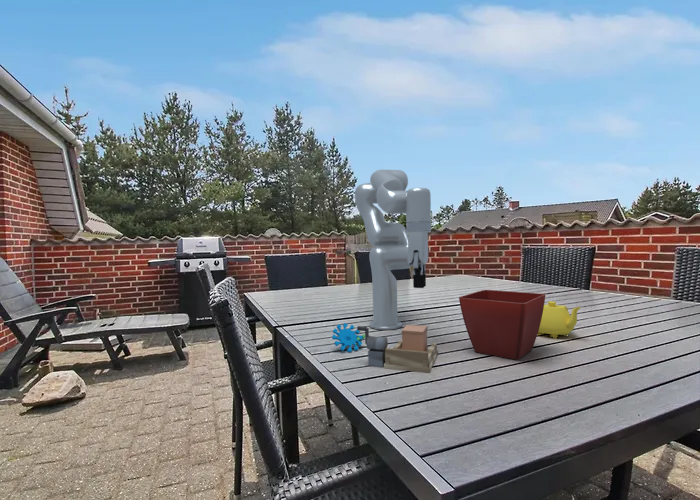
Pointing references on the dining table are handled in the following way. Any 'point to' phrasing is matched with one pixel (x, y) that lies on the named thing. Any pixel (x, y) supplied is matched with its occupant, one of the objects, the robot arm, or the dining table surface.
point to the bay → (397, 354)
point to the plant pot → (502, 321)
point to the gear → (347, 337)
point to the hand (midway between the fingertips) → (419, 286)
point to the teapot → (557, 320)
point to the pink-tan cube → (414, 338)
